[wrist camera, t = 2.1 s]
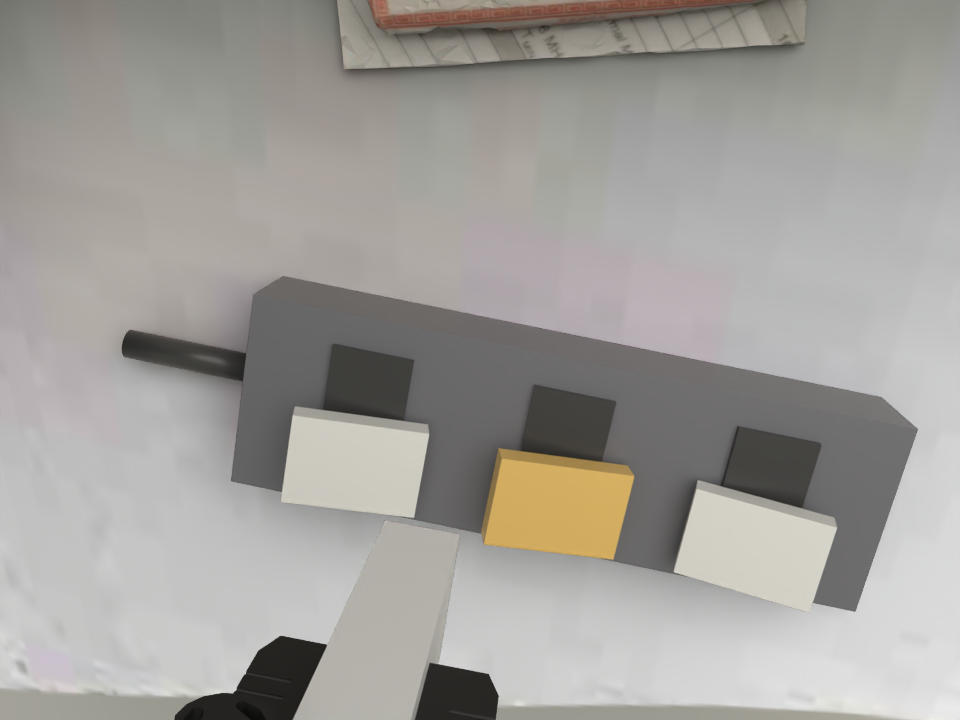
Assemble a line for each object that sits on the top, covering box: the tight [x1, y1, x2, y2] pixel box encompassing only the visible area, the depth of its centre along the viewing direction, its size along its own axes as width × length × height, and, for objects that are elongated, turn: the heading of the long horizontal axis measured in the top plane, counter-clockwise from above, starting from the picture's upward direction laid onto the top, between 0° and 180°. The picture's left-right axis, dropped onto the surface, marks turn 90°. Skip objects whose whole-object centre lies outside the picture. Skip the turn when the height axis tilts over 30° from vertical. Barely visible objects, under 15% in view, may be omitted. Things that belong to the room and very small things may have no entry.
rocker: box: [674, 480, 837, 612], centre depth 35 cm, size 5×4×1 cm
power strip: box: [122, 276, 918, 611], centre depth 38 cm, size 32×8×4 cm, turn 79°
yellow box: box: [481, 448, 634, 560], centre depth 35 cm, size 5×4×1 cm
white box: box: [281, 406, 429, 518], centre depth 35 cm, size 5×4×1 cm
